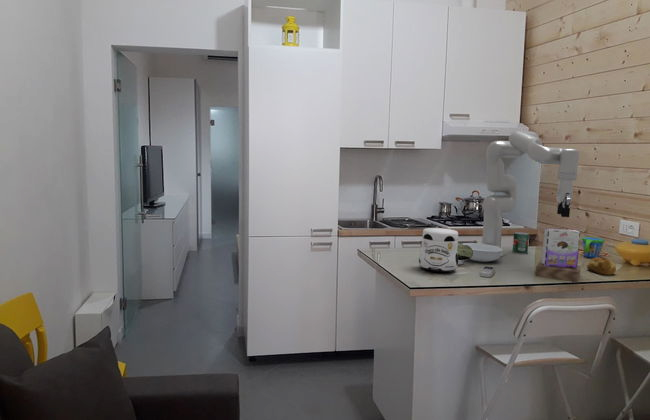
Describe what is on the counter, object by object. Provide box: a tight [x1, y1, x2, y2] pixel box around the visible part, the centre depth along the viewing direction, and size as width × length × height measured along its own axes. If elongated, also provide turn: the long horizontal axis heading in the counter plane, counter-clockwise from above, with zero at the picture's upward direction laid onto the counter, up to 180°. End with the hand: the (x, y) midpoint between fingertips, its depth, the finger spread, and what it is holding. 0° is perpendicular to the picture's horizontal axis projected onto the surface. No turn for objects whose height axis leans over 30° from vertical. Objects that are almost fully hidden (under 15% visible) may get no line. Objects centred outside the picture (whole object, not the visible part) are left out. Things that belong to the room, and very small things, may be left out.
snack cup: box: [581, 236, 605, 259], centre depth 276 cm, size 16×11×10 cm
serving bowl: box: [462, 242, 503, 263], centre depth 255 cm, size 21×21×7 cm
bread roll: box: [586, 256, 617, 276], centre depth 239 cm, size 13×10×8 cm
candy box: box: [541, 228, 581, 268], centre depth 228 cm, size 14×6×16 cm, turn 81°
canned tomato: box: [511, 231, 530, 255], centre depth 279 cm, size 8×8×11 cm
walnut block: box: [534, 260, 581, 283], centre depth 229 cm, size 17×14×5 cm
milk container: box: [418, 227, 459, 273], centre depth 229 cm, size 17×17×18 cm
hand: (562, 215), depth 226 cm, fingers open, 9 cm apart
